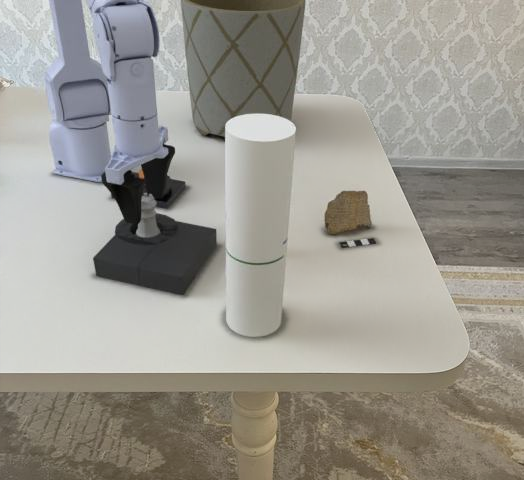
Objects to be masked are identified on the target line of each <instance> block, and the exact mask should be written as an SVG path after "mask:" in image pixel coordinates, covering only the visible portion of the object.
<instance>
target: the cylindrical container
mask: <svg viewBox="0 0 524 480" xmlns="http://www.w3.org/2000/svg"><path fill="white" fill-rule="evenodd" d="M296 133H297V127H296V125H295V124H294V123H293V122H292V120H291V121H289V120H288V119H285V118H283V117H280V116H276V115H270V114H245V115H240V116H237V117H234V118H232V119H230V120H229V121H227V123H226V125H225V137H224V140H225V142H224V150H225V152H224V153H225V154H224V155H225V159H224V161H225V162H224V163H225V166H224V167H225V168H224V169H225V170H224V171H225V173H224V175H225V178H224V179H225V180H224V181H225V182H224V183H225V320H226V324H227V326H228V327H229V328H230V330H231V331H232V332H234V333H236V334H238V335H241V336H244V337H249V338H251V337H252V338H260V337H265V336H269V335H271V334H273V333H274V332H276V331H277V330H278V329H279V328H280V326H281V324H282V316H283V303H284V291H285V279H286V277H285V276H286V265H287V250H288V238H289V226H290V225H289V224H290V214H291V213H290V212H291V198H292V185H293V172H294V158H295V147H296V145H295V144H296V136H297V135H296Z"/></svg>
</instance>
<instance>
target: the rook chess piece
mask: <svg viewBox="0 0 524 480" xmlns="http://www.w3.org/2000/svg"><path fill="white" fill-rule="evenodd" d="M156 204H157V202H156V201H155V200H154V197H153V196H152V194H149V196H147V193H144V196H142V200H141V221H140V223H139V224H138V229H137V231H136V234H135V236H138V237H153V236H157V235H159V234H161V232H160V230H159V228H158V227H157V224H156V220H155V214H156V213H157V211H156V209H155V208H156V207H155V206H156Z"/></svg>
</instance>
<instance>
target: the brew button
mask: <svg viewBox="0 0 524 480" xmlns="http://www.w3.org/2000/svg"><path fill="white" fill-rule="evenodd" d="M138 173H139V178H142V179H144V174H143V171H142V168H141V169H140V170H139V171H138ZM145 186H146V184H145Z"/></svg>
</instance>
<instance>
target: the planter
mask: <svg viewBox="0 0 524 480" xmlns="http://www.w3.org/2000/svg"><path fill="white" fill-rule="evenodd" d="M180 8H181V21H182V31H183V41H184V51H185V61H186V72H187V79H188V80H187V81H188V90H189V91H188V92H189V99H190V109H191V117H192V121H193V124H194V126H195V128H196V130H197V131H198V132H199V133H200V134H201V135H202V136H205V137H206V136H208V135H209V134H212V135H216V136H220V137H224V138H225V125H226V123H227V121H229V120H230V119H232V118H234V117H237V116H240V115H245V114H270V115H276V116H280V117H283V118H285V119H288V120H289V121H291V122H292V115H293V107H294V100H295V94H296V93H295V92H296V85H297V78H298V77H297V76H298V69H299V62H300V54H301V47H302V38H303V31H304V30H303V29H304V22H305V21H304V20H305V11H306V0H180Z"/></svg>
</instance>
